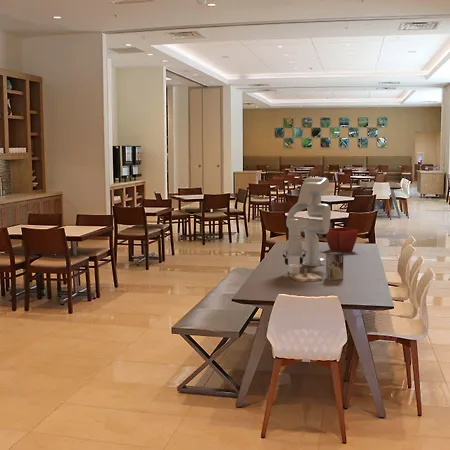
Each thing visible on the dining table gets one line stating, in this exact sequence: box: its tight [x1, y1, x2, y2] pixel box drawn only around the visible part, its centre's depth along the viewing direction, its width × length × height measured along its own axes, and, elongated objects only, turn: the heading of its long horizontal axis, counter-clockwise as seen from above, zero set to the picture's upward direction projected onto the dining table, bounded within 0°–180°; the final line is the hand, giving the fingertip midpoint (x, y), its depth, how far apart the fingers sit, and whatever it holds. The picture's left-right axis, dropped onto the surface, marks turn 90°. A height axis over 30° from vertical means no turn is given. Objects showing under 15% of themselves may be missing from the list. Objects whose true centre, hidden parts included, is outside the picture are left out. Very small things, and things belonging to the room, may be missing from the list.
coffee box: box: [325, 251, 344, 281], centre depth 383 cm, size 9×6×16 cm
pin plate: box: [288, 268, 323, 283], centre depth 385 cm, size 16×16×6 cm
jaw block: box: [288, 264, 301, 274], centre depth 400 cm, size 5×7×5 cm
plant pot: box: [325, 226, 359, 253], centre depth 481 cm, size 19×19×17 cm
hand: (293, 264), depth 399 cm, fingers open, 9 cm apart
